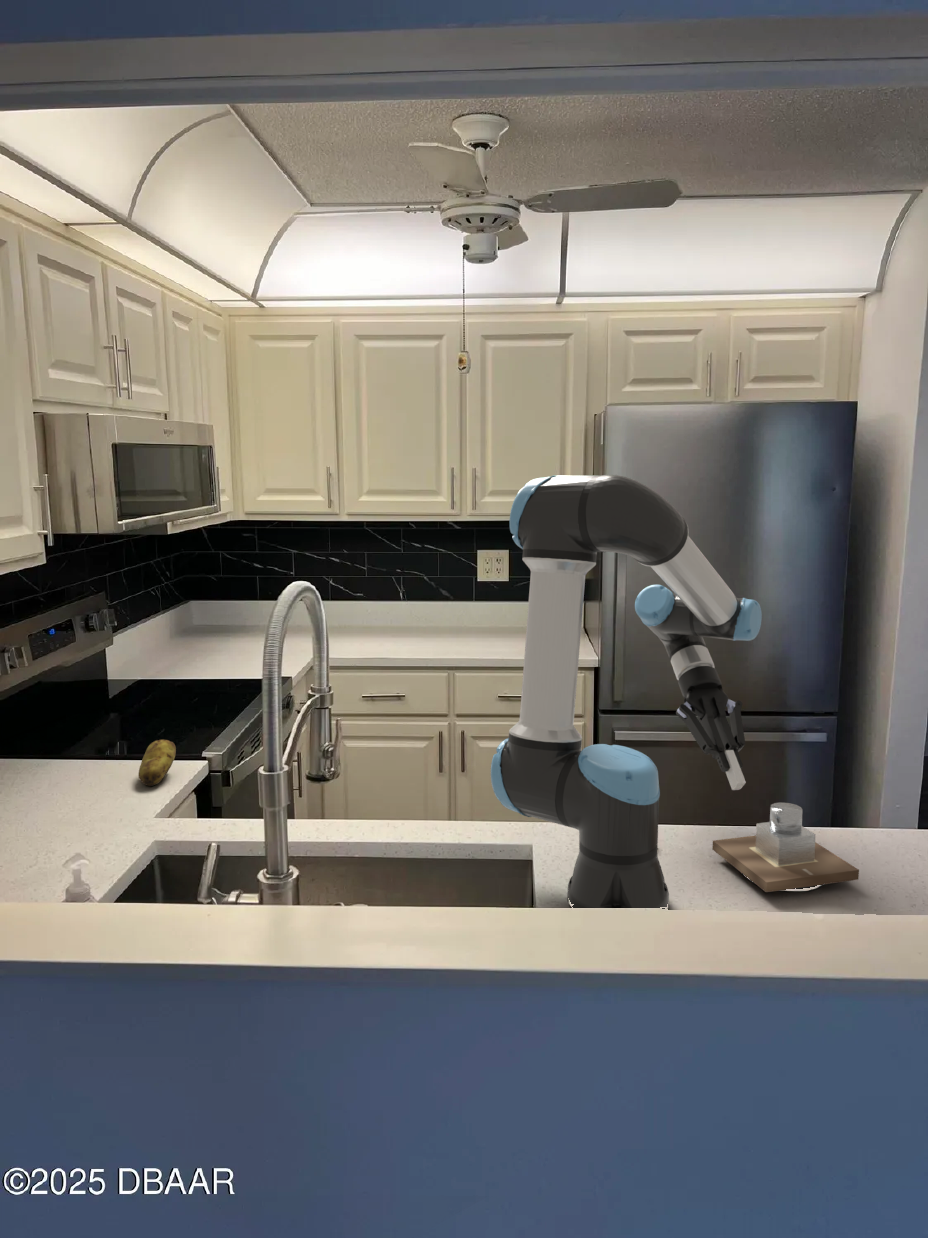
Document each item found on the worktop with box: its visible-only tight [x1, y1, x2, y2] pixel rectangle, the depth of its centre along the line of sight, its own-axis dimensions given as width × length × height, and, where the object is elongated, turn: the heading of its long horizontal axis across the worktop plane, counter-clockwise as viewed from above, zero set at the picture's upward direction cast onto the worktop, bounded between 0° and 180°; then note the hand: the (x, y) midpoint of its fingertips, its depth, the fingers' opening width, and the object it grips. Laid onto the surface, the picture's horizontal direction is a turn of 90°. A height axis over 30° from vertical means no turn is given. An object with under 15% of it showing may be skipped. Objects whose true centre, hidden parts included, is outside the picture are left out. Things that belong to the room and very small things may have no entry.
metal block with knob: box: [755, 802, 816, 866], centre depth 138 cm, size 6×6×8 cm
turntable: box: [712, 834, 860, 893], centre depth 139 cm, size 16×16×2 cm
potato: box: [138, 739, 177, 787], centre depth 190 cm, size 8×13×8 cm, turn 165°
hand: (739, 786), depth 151 cm, fingers closed
